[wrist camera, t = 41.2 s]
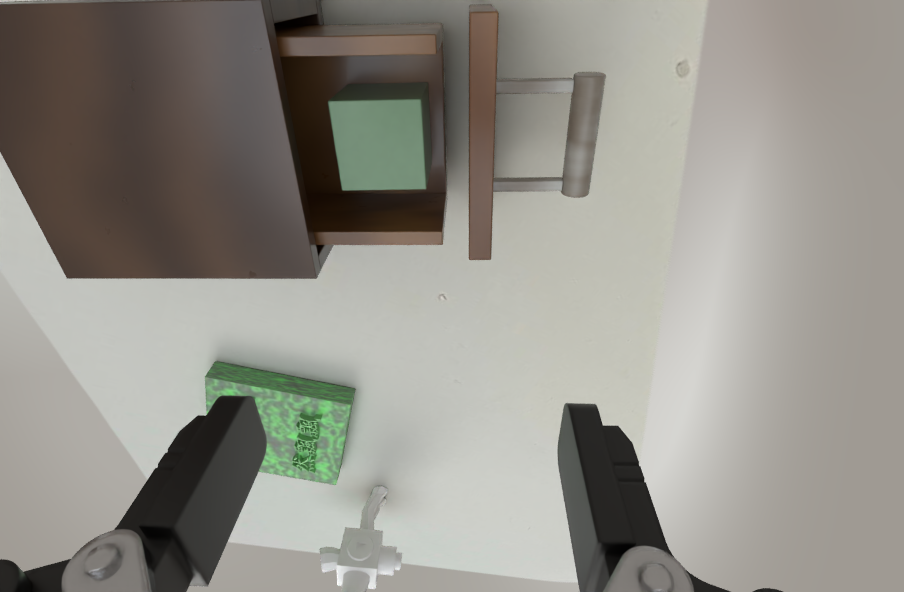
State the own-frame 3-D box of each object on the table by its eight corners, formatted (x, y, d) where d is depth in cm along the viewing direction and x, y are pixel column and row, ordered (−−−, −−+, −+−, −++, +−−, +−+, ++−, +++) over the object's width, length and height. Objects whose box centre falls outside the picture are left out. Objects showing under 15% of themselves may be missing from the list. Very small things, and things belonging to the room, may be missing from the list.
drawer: (594, 2, 25) (631, 8, 20) (568, 209, 32) (591, 260, 26) (256, 8, 26) (196, 16, 20) (298, 210, 32) (260, 260, 26)
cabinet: (319, -7, 26) (261, -2, 19) (350, 212, 33) (316, 279, 26) (73, -2, 27) (-78, 5, 19) (154, 213, 34) (66, 278, 26)
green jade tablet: (340, 468, 48) (334, 489, 46) (218, 446, 47) (206, 467, 45) (355, 388, 42) (349, 409, 40) (215, 361, 41) (202, 381, 39)
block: (347, 83, 27) (327, 100, 23) (428, 81, 27) (421, 98, 23) (358, 164, 29) (341, 191, 25) (432, 162, 29) (426, 189, 25)
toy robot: (334, 479, 50) (300, 606, 39) (409, 487, 50) (394, 615, 40) (335, 502, 52) (303, 628, 42) (407, 509, 52) (392, 636, 42)
